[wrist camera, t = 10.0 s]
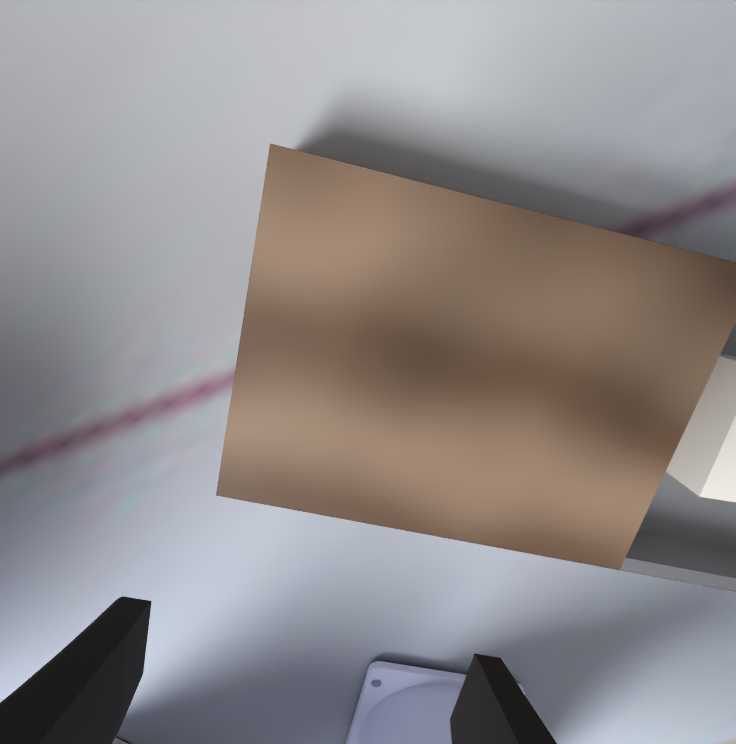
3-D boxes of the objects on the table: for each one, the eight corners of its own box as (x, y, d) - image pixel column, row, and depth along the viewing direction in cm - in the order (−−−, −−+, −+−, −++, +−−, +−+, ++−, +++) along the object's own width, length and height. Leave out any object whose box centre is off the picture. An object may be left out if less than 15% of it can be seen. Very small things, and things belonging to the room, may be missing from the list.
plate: (588, 530, 20) (619, 570, 18) (234, 462, 19) (216, 495, 16) (702, 264, 17) (760, 269, 14) (283, 158, 15) (270, 143, 13)
